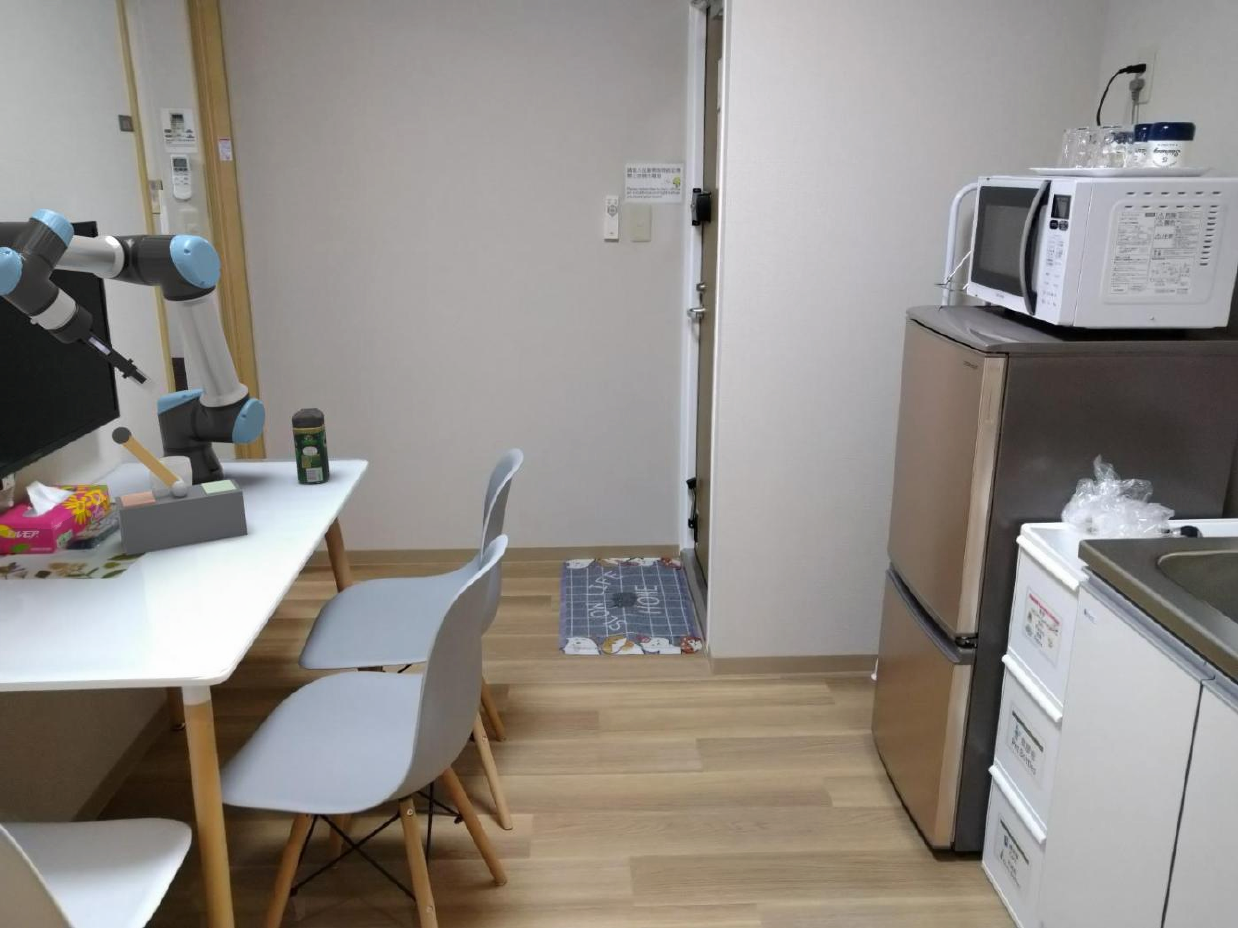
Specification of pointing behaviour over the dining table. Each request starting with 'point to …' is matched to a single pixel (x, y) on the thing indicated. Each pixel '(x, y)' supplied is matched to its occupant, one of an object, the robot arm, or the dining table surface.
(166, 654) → the dining table surface
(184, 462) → the cup
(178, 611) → the dining table surface
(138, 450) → the lever
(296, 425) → the coffee jar
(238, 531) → the breaker box
